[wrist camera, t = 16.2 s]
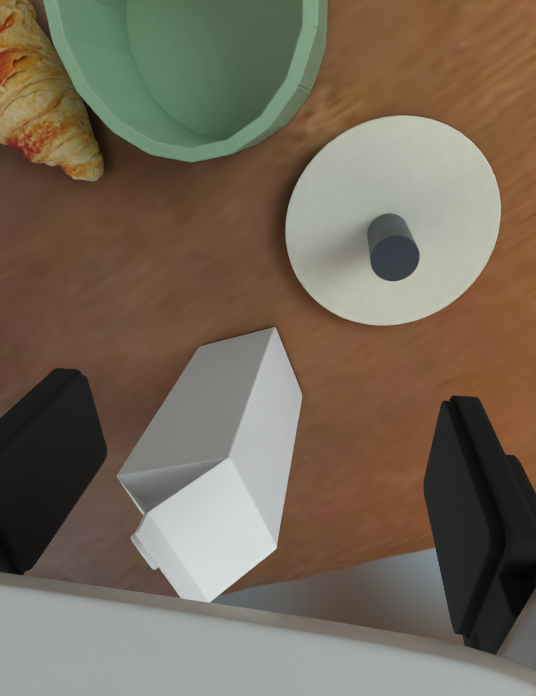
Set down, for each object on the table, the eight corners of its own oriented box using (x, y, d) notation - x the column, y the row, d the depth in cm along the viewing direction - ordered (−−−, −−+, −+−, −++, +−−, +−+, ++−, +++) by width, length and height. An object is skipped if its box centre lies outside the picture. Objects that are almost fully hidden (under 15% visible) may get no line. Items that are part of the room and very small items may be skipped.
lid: (287, 313, 33) (273, 357, 27) (287, 117, 26) (270, 119, 21) (469, 323, 31) (497, 373, 25) (520, 112, 24) (574, 114, 18)
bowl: (139, 150, 29) (79, 163, 23) (98, -110, 23) (-2, -195, 16) (322, 149, 27) (313, 162, 21) (333, -137, 21) (326, -247, 14)
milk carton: (275, 325, 34) (205, 525, 18) (303, 395, 37) (265, 622, 21) (199, 344, 36) (74, 539, 20) (230, 409, 39) (144, 625, 23)
